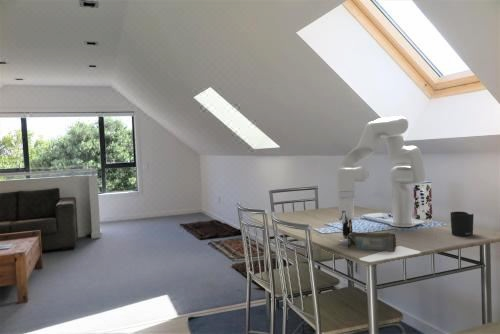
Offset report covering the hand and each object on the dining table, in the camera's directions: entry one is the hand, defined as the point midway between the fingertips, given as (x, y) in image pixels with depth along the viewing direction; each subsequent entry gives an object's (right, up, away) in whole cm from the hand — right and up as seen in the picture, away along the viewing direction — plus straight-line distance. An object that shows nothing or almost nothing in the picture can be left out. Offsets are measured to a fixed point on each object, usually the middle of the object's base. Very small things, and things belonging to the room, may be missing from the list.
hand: (347, 234), depth 174 cm
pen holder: (+54, -1, +4) cm, 55 cm away
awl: (0, -2, 0) cm, 2 cm away
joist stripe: (+1, -3, +2) cm, 4 cm away
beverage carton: (+7, -4, -12) cm, 15 cm away
